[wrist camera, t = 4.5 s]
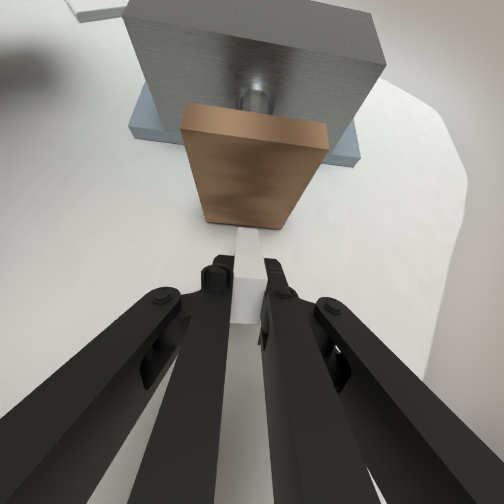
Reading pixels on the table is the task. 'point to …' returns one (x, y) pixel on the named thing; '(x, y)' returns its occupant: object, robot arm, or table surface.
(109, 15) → the external hard drive
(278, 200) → the brown wooden block
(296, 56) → the housing
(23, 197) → the table surface
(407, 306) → the table surface
